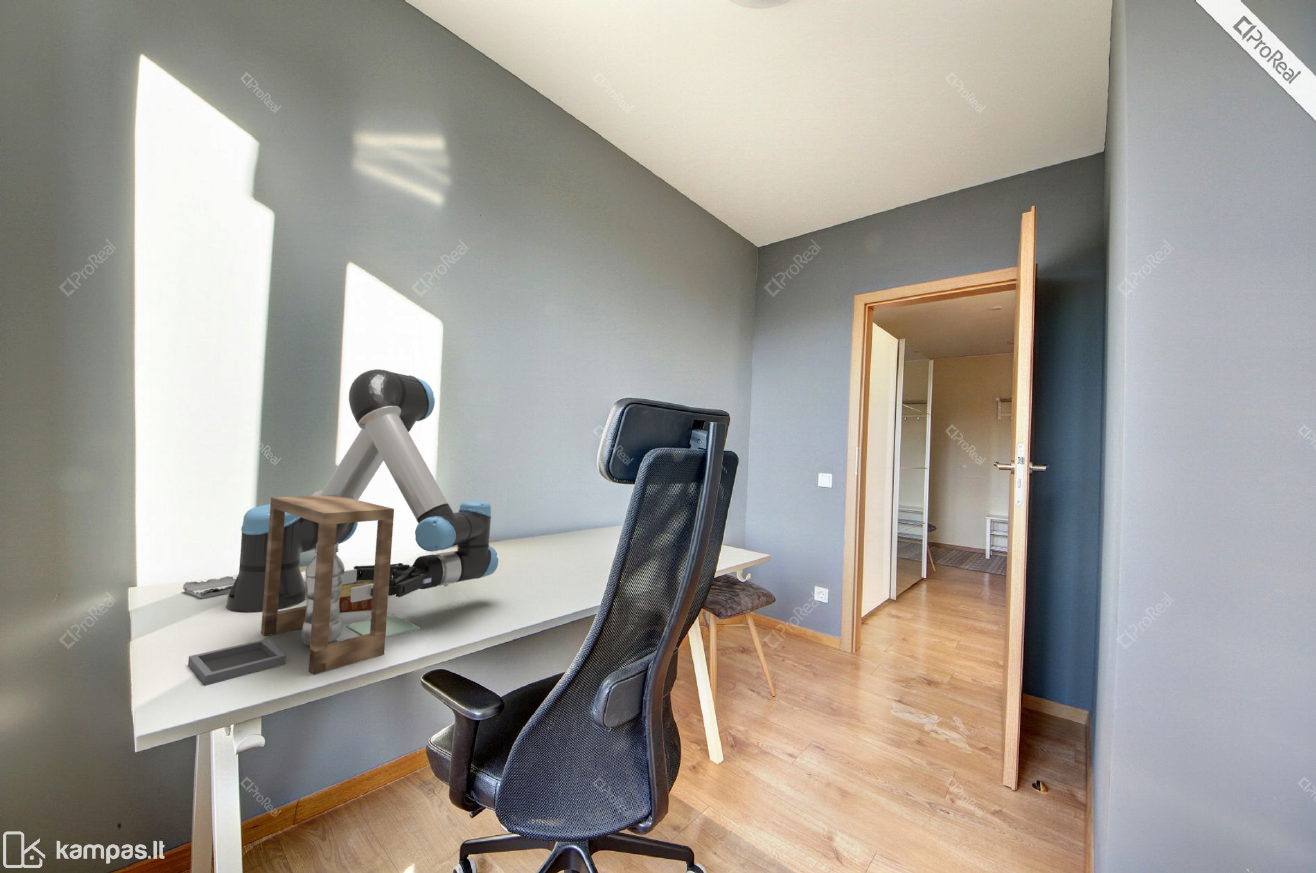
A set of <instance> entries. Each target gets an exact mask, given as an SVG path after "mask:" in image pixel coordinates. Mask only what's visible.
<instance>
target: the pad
mask: <svg viewBox="0 0 1316 873" xmlns="http://www.w3.org/2000/svg"><path fill="white" fill-rule="evenodd" d="M370 626H371V618H370V619H367V620H362V621H358V622H354V623H349V624H346V626H345V627H346V628H347V629H349V630H351V631H352V632H354V633H356V634H357V635H358V636H361V635H365V634H369V633H370ZM419 630H421V627H420V626H418V625H416V624H414V623H412V622H410V621H408V620H406V619H404V618H401V617H399V616H398V615H397V614H393V613H391V614H387V622H386V636H385V639H388V638H393V637H395V636H400V635H403V634H407V633H410V632H415V631H419Z"/></svg>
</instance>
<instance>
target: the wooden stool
mask: <svg viewBox="0 0 1316 873" xmlns="http://www.w3.org/2000/svg"><path fill="white" fill-rule="evenodd" d="M270 504H271V505H270V518H269V532H268V545H267V558H266V572H265V585H264V599H263V611H261V612H262V614H261V615H262V616H261V626H260V628H261V630H260V634H261V635H262V636H263V637H268V636H271V634H273V635H276V634H283V633H286V632H290V631H295V630H299V628H300V629H302V627H303V623H304V621H305V614H306V608H307V605H304V606H299V607H298V606H297V607H292V608H288V609H281V610H279V609H278V601H279V587H280V574H281V560H282V547H283V533H284V519H285V512H286V513H289V514H293V515H296V516H299V517H302V518H305V519H308V520H311V521H314V522H317V523H319V529H318V543H317V553H316V555H317V557H316V556H315V557H316V571H315V585H314V599H313V613H312V627H311V641H310V646H309V655H308V656H309V657H308V670H307V671H308V673H310V674H311V675H312V676H314V675H317V674H321V673H325V672H327V671H331V670H335V669H338V668H341V667H346V666H348V665H349V666H350V665H353V664H356V663H358V662H361V661H365V660H369V659H373V658H376V657H379V656H382V655H385V648H386V647H385V646H386V638H385V636H386V622H387V615H388V608H389V607H388V603H389V595H388V592H389V578H390V564H392V563H391V562H392V544H393V543H392V542H393V533H394V532H393V530H394V518H395V516H394V515H395V509H394V508H393V507H388V506H383V505H379V504H375V503H370V502H367V501H363V500H355V499H350V498H346V497H342V496H338V495H323V496H312V495H303V496H301V495H300V496H277V497H275V496H274V497H270ZM375 521H377V529H376V539H375V558H374V565H375V568H374V582H373V597H372V610H370V611H371V613H370V616H371V617H370V619H371V626H370V633H369V634H365V635H358V636H353V637H349V638H345V639H341V640H338V641H335V642H333V643H330V644H328V633H329V619H330V605H331V591H332V577H333V563H334V549H335V542H336V535H337V524H340V523H352V522H358V523H363V522H375ZM294 629H295V630H294Z"/></svg>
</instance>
